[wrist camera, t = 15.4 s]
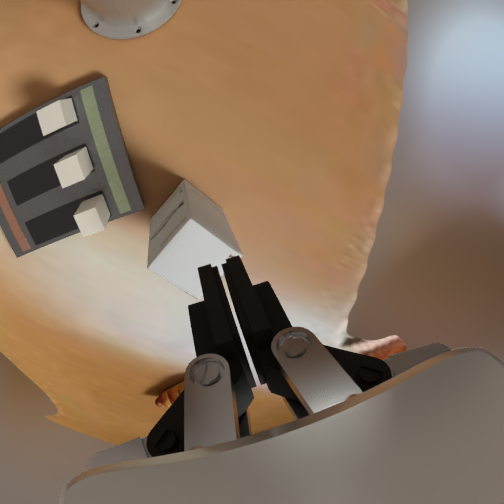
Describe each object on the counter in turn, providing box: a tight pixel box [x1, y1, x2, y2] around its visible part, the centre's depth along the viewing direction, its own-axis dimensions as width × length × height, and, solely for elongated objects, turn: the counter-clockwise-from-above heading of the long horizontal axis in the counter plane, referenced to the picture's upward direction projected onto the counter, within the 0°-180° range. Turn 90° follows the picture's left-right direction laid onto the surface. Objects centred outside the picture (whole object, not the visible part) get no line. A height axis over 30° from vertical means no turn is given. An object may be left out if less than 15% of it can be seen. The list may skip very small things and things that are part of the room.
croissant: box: [155, 380, 185, 408], centre depth 59 cm, size 21×10×8 cm, turn 97°
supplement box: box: [147, 179, 243, 299], centre depth 35 cm, size 7×7×13 cm
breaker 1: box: [36, 98, 78, 136], centre depth 26 cm, size 3×3×4 cm
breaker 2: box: [54, 147, 93, 189], centre depth 29 cm, size 3×3×4 cm
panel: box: [0, 77, 145, 258], centre depth 31 cm, size 18×22×2 cm
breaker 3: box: [74, 194, 110, 238], centre depth 33 cm, size 3×3×4 cm
